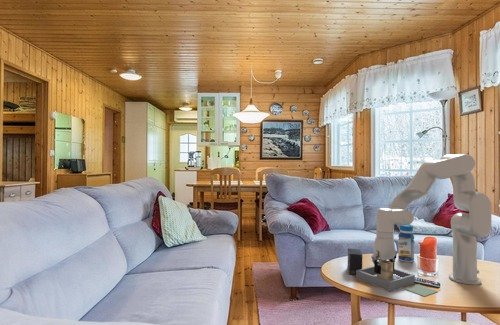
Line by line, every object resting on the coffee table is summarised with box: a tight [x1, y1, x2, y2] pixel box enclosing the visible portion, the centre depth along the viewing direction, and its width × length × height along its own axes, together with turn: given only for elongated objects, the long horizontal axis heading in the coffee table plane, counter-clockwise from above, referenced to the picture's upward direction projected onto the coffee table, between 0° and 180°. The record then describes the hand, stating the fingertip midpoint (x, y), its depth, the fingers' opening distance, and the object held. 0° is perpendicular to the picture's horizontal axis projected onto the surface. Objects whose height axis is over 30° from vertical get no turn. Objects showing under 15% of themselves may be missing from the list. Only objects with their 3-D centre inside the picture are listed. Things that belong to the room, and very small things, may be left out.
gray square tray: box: [355, 265, 416, 293], centre depth 150 cm, size 18×18×4 cm
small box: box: [347, 248, 363, 276], centre depth 162 cm, size 11×6×10 cm, turn 168°
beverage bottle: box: [397, 224, 416, 263], centre depth 182 cm, size 8×8×20 cm
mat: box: [404, 284, 439, 298], centre depth 139 cm, size 10×9×1 cm
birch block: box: [376, 260, 393, 279], centre depth 150 cm, size 5×5×7 cm
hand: (384, 271), depth 150 cm, fingers open, 9 cm apart
